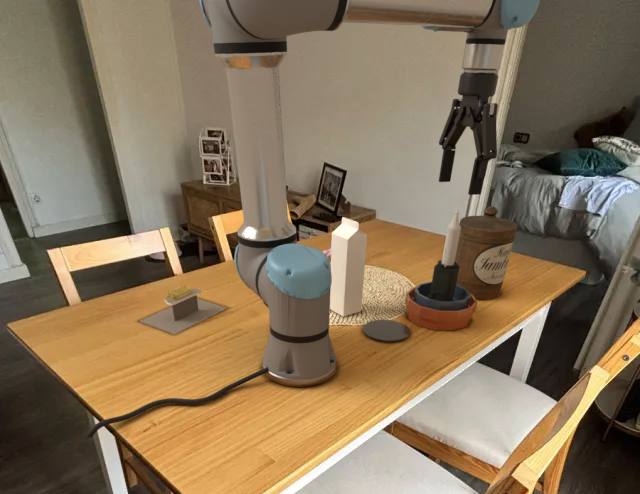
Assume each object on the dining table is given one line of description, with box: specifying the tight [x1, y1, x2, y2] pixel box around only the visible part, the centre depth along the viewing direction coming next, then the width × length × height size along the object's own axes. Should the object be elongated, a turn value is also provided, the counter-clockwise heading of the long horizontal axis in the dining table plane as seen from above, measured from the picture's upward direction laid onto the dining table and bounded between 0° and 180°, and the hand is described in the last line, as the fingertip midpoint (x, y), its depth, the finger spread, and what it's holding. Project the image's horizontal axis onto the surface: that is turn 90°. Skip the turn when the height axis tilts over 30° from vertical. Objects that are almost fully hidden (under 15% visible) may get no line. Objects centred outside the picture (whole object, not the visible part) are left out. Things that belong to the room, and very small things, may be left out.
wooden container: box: [454, 205, 518, 301], centre depth 129 cm, size 15×15×22 cm
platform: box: [139, 284, 228, 335], centre depth 116 cm, size 12×18×7 cm, turn 147°
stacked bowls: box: [404, 281, 478, 331], centre depth 119 cm, size 17×17×6 cm
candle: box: [429, 210, 461, 301], centre depth 113 cm, size 5×5×25 cm
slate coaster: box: [362, 319, 411, 344], centre depth 113 cm, size 11×11×1 cm
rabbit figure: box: [322, 247, 331, 259], centre depth 153 cm, size 6×6×15 cm
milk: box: [330, 216, 368, 318], centre depth 116 cm, size 6×6×22 cm
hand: (458, 187), depth 109 cm, fingers open, 13 cm apart
